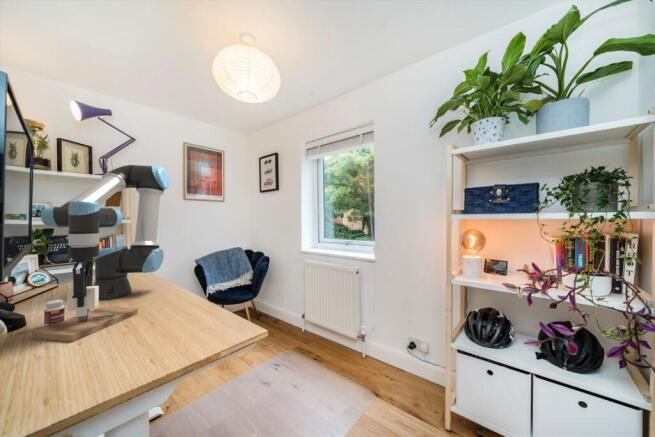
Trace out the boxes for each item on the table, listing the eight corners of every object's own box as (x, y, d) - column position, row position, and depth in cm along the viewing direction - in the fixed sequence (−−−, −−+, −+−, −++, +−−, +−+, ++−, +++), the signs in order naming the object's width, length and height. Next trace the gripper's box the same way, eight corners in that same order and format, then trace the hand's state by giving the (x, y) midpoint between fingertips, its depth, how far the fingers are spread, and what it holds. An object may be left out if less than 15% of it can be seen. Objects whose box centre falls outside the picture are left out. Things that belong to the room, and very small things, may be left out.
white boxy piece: (71, 320, 84) (72, 287, 84) (116, 314, 89) (116, 284, 89) (67, 323, 81) (67, 290, 81) (113, 318, 86) (113, 286, 86)
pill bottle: (50, 329, 82) (50, 304, 82) (40, 328, 83) (40, 303, 83) (68, 323, 87) (68, 299, 87) (58, 322, 88) (58, 298, 88)
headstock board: (104, 311, 98) (104, 306, 98) (137, 313, 96) (137, 308, 96) (31, 338, 76) (31, 331, 76) (73, 341, 74) (73, 334, 74)
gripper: (76, 244, 89) (75, 308, 89) (59, 249, 75) (58, 325, 75) (104, 243, 93) (103, 304, 93) (92, 247, 79) (91, 320, 79)
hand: (83, 313), depth 84 cm, fingers closed on white boxy piece, 3 cm apart
